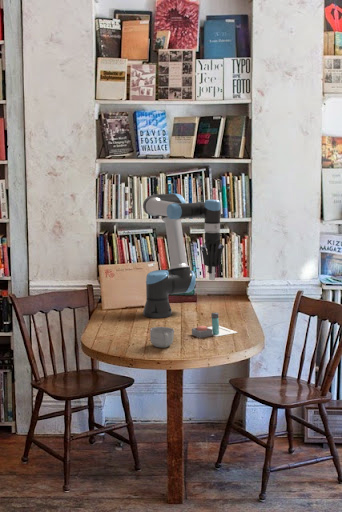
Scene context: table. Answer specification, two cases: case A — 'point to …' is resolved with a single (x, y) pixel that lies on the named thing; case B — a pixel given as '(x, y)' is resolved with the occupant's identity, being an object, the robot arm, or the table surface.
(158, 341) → the teacup
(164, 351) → the table surface
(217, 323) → the marker
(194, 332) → the button housing
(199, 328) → the button
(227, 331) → the paper
